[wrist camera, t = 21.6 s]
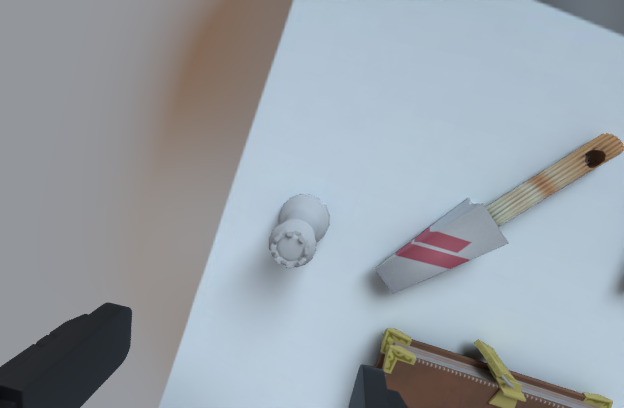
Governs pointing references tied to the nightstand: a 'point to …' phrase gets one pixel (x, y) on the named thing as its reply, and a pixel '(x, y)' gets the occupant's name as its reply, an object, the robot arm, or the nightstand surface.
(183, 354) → the nightstand surface
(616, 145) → the grey trowel
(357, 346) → the nightstand surface
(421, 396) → the book
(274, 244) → the rook chess piece
